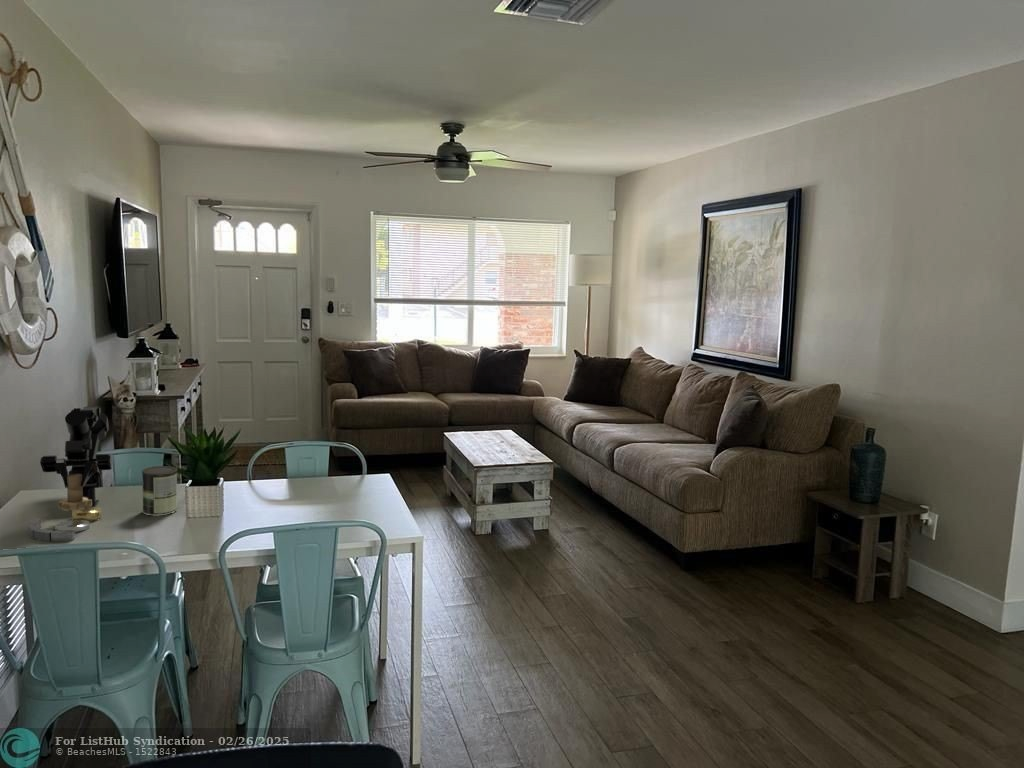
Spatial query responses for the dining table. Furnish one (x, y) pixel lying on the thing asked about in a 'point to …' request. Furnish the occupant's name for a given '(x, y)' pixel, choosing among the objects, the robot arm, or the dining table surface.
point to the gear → (74, 495)
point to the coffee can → (159, 490)
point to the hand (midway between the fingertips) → (74, 486)
